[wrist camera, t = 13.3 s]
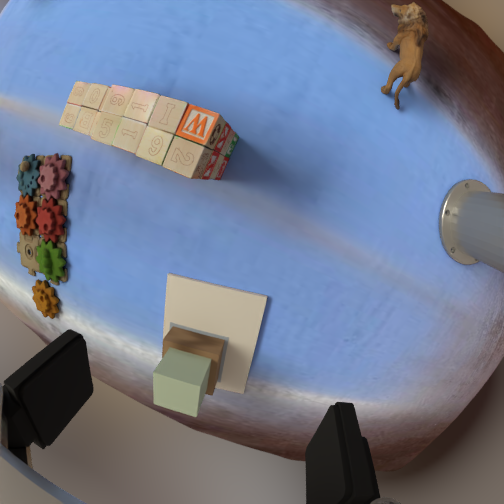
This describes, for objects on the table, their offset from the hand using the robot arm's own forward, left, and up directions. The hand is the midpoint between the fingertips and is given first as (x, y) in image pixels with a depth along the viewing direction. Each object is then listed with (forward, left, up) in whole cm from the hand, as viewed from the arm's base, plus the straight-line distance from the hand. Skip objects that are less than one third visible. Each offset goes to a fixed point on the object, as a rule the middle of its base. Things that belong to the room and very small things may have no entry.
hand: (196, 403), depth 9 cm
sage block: (+6, +19, -24) cm, 31 cm away
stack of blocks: (+16, -12, -29) cm, 35 cm away
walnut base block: (+6, +19, -28) cm, 34 cm away
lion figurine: (-13, -29, -29) cm, 43 cm away
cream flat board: (+4, +16, -28) cm, 33 cm away
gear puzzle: (+39, +8, -29) cm, 49 cm away
